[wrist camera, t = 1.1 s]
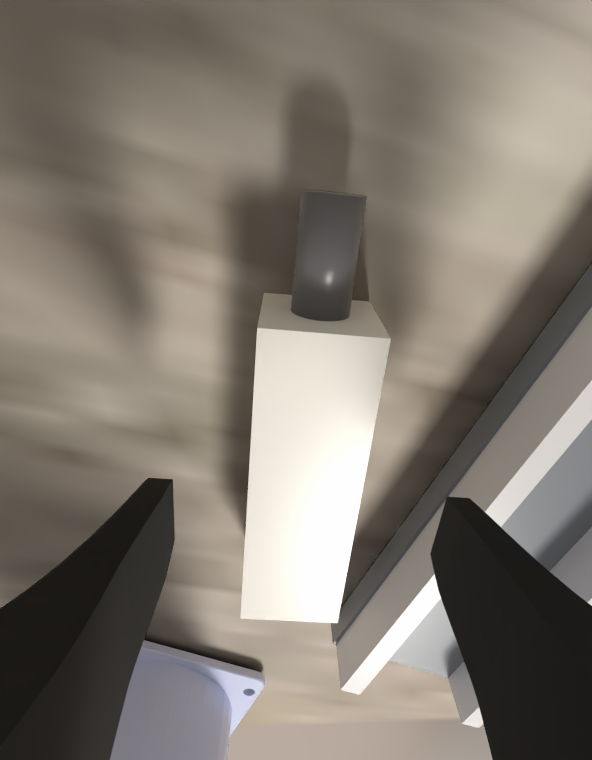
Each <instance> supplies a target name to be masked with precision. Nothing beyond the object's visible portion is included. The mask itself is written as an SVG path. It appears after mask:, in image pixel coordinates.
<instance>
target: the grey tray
mask: <svg viewBox="0 0 592 760" xmlns="http://www.w3.org/2000/svg"><path fill="white" fill-rule="evenodd" d="M447 497H461V498H470V499H471V500H472V501H473V502H475V503H476V504H477V505H478V506H479V507H480V508H481V509H482V510H483V511H484V512H485V513H486V514H488V515H489V516H490V517H491V518H492V519H493V520H494V521H495V522H496V523H497V524H498V525H499V526H500V527H501V528H502V529H503V530H504V531H505V532H506V533H508V534H509V535H510V536H511V537H512V538H513V539H514V540H515V541H516V542H517V543H518V544H519V545H520V546H521V547H523V548H524V549H525V550H526V551H527V552H528V553H529V554H530V555H531V556H532V557H534V558H535V559H536V560H537V561H538V562H539V563H540V564H541V565H543V566H544V567H545V568H546V569H547V570H548V571H549V572H551V573H552V574H553V575H554V576H555V577H557V578H558V579H559V580H560V581H561V582H563V583H564V584H565V585H566V586H567V587H569V588H570V589H571V590H572V591H573V592H575V593H576V594H577V595H578V596H580V597H581V598H582V599H584V600H585V601H586V602H587V603H589V604H590V605H591V606H592V263H591V265H590V266H589V267H588V269H587V270H586V271H585V273H584V274H583V276H582V277H581V278H580V280H579V281H578V282H577V284H576V285H575V287H574V288H573V289H572V291H571V292H570V293H569V295H568V296H567V298H566V299H565V300H564V302H563V303H562V304H561V306H560V307H559V309H558V310H557V311H556V313H555V314H554V316H553V317H552V318H551V320H550V321H549V322H548V324H547V325H546V327H545V328H544V329H543V331H542V332H541V333H540V335H539V336H538V338H537V339H536V340H535V342H534V343H533V344H532V346H531V347H530V349H529V350H528V351H527V353H526V354H525V355H524V357H523V358H522V360H521V361H520V362H519V364H518V365H517V366H516V368H515V369H514V371H513V372H512V373H511V375H510V376H509V378H508V379H507V380H506V382H505V383H504V384H503V386H502V387H501V389H500V390H499V391H498V393H497V394H496V395H495V397H494V398H493V400H492V401H491V402H490V404H489V405H488V406H487V408H486V409H485V411H484V412H483V413H482V415H481V416H480V417H479V419H478V420H477V422H476V423H475V424H474V426H473V427H472V428H471V430H470V431H469V433H468V434H467V435H466V437H465V438H464V440H463V441H462V442H461V444H460V445H459V446H458V448H457V449H456V451H455V452H454V453H453V455H452V456H451V457H450V459H449V460H448V462H447V463H446V464H445V466H444V467H443V468H442V470H441V471H440V473H439V474H438V475H437V477H436V478H435V479H434V481H433V482H432V484H431V485H430V486H429V488H428V489H427V490H426V492H425V493H424V495H423V496H422V497H421V499H420V500H419V502H418V503H417V504H416V506H415V507H414V508H413V510H412V511H411V513H410V514H409V515H408V517H407V518H406V519H405V521H404V522H403V524H402V525H401V526H400V528H399V529H398V530H397V532H396V533H395V535H394V536H393V537H392V539H391V540H390V541H389V543H388V544H387V546H386V547H385V548H384V550H383V551H382V552H381V554H380V555H379V557H378V558H377V559H376V561H375V562H374V564H373V565H372V566H371V568H370V569H369V570H368V572H367V573H366V575H365V576H364V577H363V579H362V580H361V581H360V583H359V584H358V586H357V587H356V588H355V590H354V591H353V592H352V594H351V595H350V597H349V598H348V599H347V601H346V602H345V603H344V605H343V606H342V608H341V609H340V613H339V619H338V623H331V628H332V638H333V644H335V645H336V647H337V657H338V667H339V677H340V687H341V690H344V691H347V692H351V693H354V694H358V695H360V694H361V692H362V691H363V690H364V689H365V688H366V686H367V685H368V684H369V683H370V682H371V681H372V679H373V678H374V677H375V676H376V675H377V673H378V672H379V671H380V670H381V669H382V667H383V666H384V665H385V664H386V663H387V662H388V660H389V661H392V662H395V663H399V664H402V665H405V666H409V667H412V668H415V669H419V670H422V671H425V672H429V673H432V674H435V675H439V676H442V677H445V678H448V680H449V683H450V686H451V690H452V693H453V696H454V699H455V702H456V706H457V709H458V712H459V715H460V718H461V722H462V724H466V725H469V726H473V727H477V728H479V727H480V726H481V725H482V724H483V720H482V716H481V712H480V708H479V705H478V701H477V697H476V694H475V691H474V688H473V685H472V682H471V679H470V676H469V673H468V671H467V668H466V665H465V663H464V660H463V657H462V654H461V652H460V649H459V646H458V643H457V641H456V638H455V635H454V633H453V630H452V627H451V624H450V622H449V619H448V616H447V613H446V611H445V608H444V605H443V602H442V599H441V596H440V594H439V590H438V586H437V582H436V578H435V574H434V569H433V564H432V560H431V555H430V553H431V550H432V546H433V543H434V539H435V536H436V532H437V529H438V526H439V522H440V519H441V515H442V512H443V508H444V505H445V501H446V498H447Z"/></svg>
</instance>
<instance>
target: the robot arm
mask: <svg viewBox="0 0 592 760" xmlns="http://www.w3.org/2000/svg"><path fill="white" fill-rule="evenodd" d="M174 540H175V539H174V507H173V479H157V478H148V479H147V480H146V481H144V482H143V484H142V485H141V486H140V487H139V488H138V489H137V490H136V491H135V492H134V493H133V494H132V495H131V497H130V498H129V499H128V500H127V501H126V502H125V503H124V504H123V505H122V506H121V507H120V508H119V509H118V510H117V511H116V512H115V513H114V514H113V515H112V516H111V517H110V518H109V519H108V520H107V521H106V522H105V523H104V524H103V525H102V526H101V527H100V528H99V529H98V530H97V531H96V532H95V533H94V534H93V535H92V536H91V537H90V538H88V539H87V540H86V541H85V542H84V543H83V544H82V545H81V546H80V547H78V548H77V549H76V550H75V551H74V552H73V553H72V554H71V555H69V556H68V557H67V558H66V559H65V560H64V561H63V562H61V563H60V564H59V565H58V566H57V567H55V568H54V569H53V570H52V571H50V572H49V573H48V574H47V575H45V576H44V577H43V578H42V579H40V580H39V581H38V582H36V583H35V584H34V585H32V586H31V587H30V588H29V589H27V590H26V591H25V592H23V593H22V594H20V595H19V596H18V597H16V598H15V599H13V600H12V601H11V602H9V603H8V604H6V605H5V606H3V607H2V608H0V760H227V757H228V747H229V737H230V735H231V734H232V732H233V731H234V729H235V728H236V726H237V725H238V724H239V722H240V721H241V719H242V718H243V716H244V715H245V714H246V712H247V711H248V709H249V708H250V706H251V705H252V703H253V702H254V701H255V699H256V698H257V696H258V695H259V693H260V692H261V691H262V689H263V688H264V685H265V677H264V675H263V674H262V673H260V672H258V671H255V670H251V669H247V668H244V667H240V666H237V665H233V664H229V663H226V662H222V661H219V660H215V659H211V658H208V657H204V656H200V655H197V654H193V653H190V652H186V651H182V650H179V649H175V648H171V647H168V646H164V645H161V644H157V643H153V642H150V641H146V640H144V638H145V635H146V633H147V630H148V627H149V624H150V621H151V619H152V616H153V613H154V610H155V607H156V604H157V602H158V599H159V596H160V593H161V590H162V587H163V584H164V581H165V578H166V575H167V571H168V566H169V562H170V558H171V553H172V549H173V544H174ZM430 555H431V560H432V564H433V569H434V574H435V578H436V582H437V586H438V590H439V594H440V596H441V599H442V602H443V605H444V608H445V611H446V613H447V616H448V619H449V622H450V624H451V627H452V630H453V633H454V635H455V638H456V641H457V643H458V646H459V649H460V652H461V654H462V657H463V660H464V663H465V665H466V668H467V671H468V673H469V676H470V679H471V682H472V685H473V688H474V691H475V694H476V697H477V701H478V705H479V708H480V712H481V716H482V720H483V723H484V727H485V730H486V735H487V738H488V742H489V746H490V750H491V754H492V758H493V760H592V606H591V605H590V604H589V603H587V602H586V601H585V600H584V599H582V598H581V597H580V596H578V595H577V594H576V593H575V592H573V591H572V590H571V589H570V588H569V587H567V586H566V585H565V584H564V583H563V582H561V581H560V580H559V579H558V578H557V577H555V576H554V575H553V574H552V573H551V572H549V571H548V570H547V569H546V568H545V567H544V566H543V565H541V564H540V563H539V562H538V561H537V560H536V559H535V558H534V557H532V556H531V555H530V554H529V553H528V552H527V551H526V550H525V549H524V548H523V547H521V546H520V545H519V544H518V543H517V542H516V541H515V540H514V539H513V538H512V537H511V536H510V535H509V534H508V533H506V532H505V531H504V530H503V529H502V528H501V527H500V526H499V525H498V524H497V523H496V522H495V521H494V520H493V519H492V518H491V517H490V516H489V515H488V514H486V513H485V512H484V511H483V510H482V509H481V508H480V507H479V506H478V505H477V504H476V503H475V502H473V501H472V500H471V499H470V498H461V497H447V498H446V501H445V505H444V508H443V512H442V515H441V519H440V522H439V526H438V529H437V532H436V536H435V539H434V543H433V546H432V550H431V553H430Z"/></svg>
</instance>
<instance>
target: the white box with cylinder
mask: <svg viewBox="0 0 592 760" xmlns="http://www.w3.org/2000/svg"><path fill="white" fill-rule="evenodd" d="M365 204H366V196H362V195H355V194H348V193H340V192H330V191H318V190H301V198H300V210H299V221H298V233H297V244H296V255H295V267H294V278H293V290H292V295H286V294H274V293H264V295H263V300H262V306H261V311H260V316H259V321H258V326H257V340H256V358H255V375H254V393H253V410H252V428H251V445H250V463H249V480H248V498H247V515H246V533H245V550H244V568H243V585H242V603H241V618H242V619H262V620H283V621H303V622H323V623H338V619H339V613H340V608H341V603H342V597H343V592H344V587H345V581H346V576H347V571H348V565H349V560H350V555H351V549H352V544H353V539H354V533H355V528H356V523H357V518H358V512H359V507H360V502H361V496H362V491H363V486H364V480H365V475H366V470H367V464H368V459H369V454H370V448H371V443H372V438H373V432H374V427H375V422H376V416H377V411H378V406H379V400H380V395H381V390H382V384H383V379H384V374H385V368H386V363H387V358H388V352H389V347H390V342H391V338H390V336H389V334H388V333H387V331H386V329H385V328H384V326H383V324H382V322H381V321H380V319H379V317H378V316H377V314H376V312H375V310H374V309H373V307H372V305H371V303H370V302H369V301H358V300H352V294H353V288H354V281H355V274H356V267H357V260H358V253H359V246H360V239H361V232H362V225H363V218H364V211H365Z"/></svg>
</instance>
